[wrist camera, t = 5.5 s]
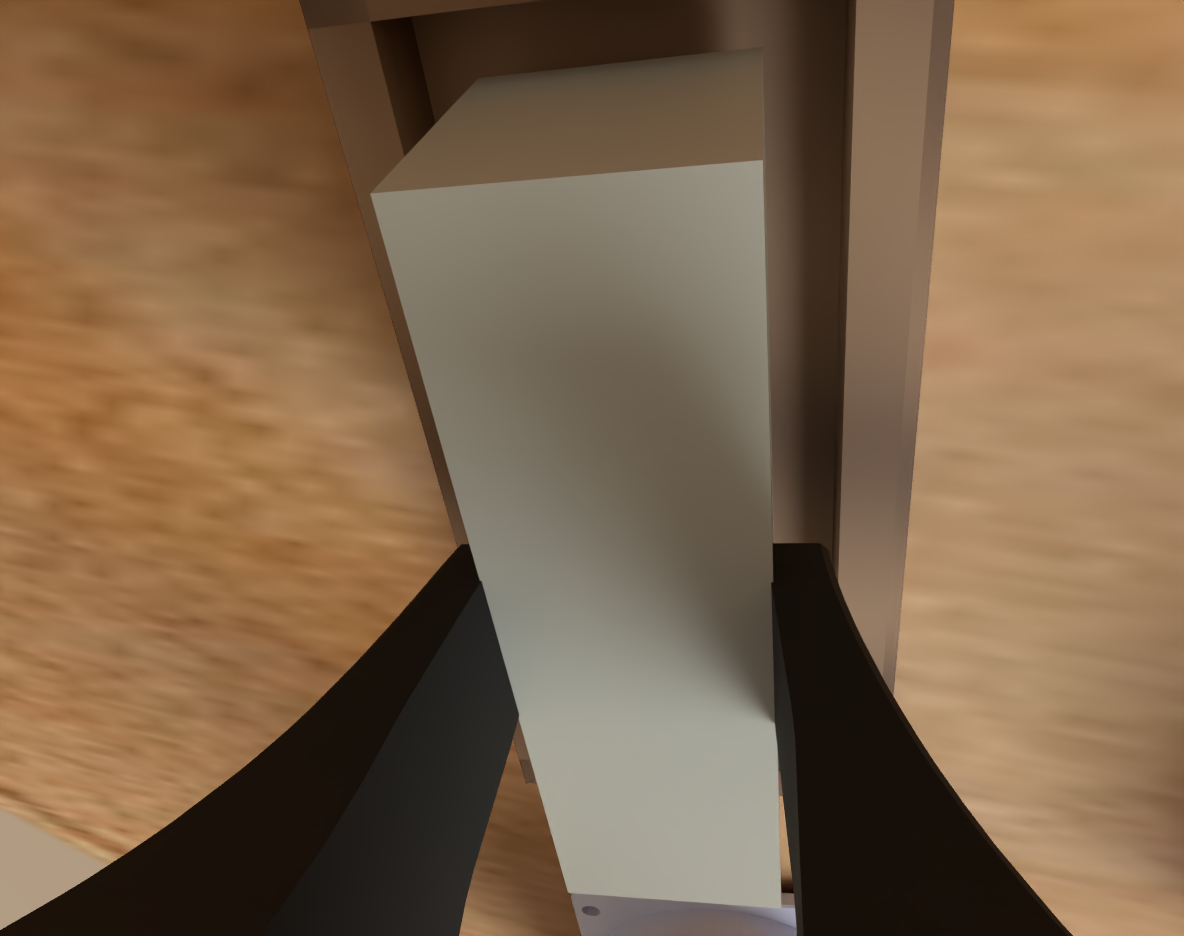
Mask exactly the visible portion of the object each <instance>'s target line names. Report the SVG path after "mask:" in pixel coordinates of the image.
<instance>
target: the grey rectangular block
mask: <svg viewBox="0 0 1184 936" xmlns="http://www.w3.org/2000/svg"><path fill="white" fill-rule="evenodd" d="M370 195H371V198H372V202H373V205H374V209H375V212H376V216H377V219H378V223H379V226H380V230H381V234H382V237H383V241H384V244H385V248H386V251H387V255H388V258H389V262H390V265H391V269H392V272H393V276H394V279H395V283H396V287H397V290H398V294H399V297H400V301H401V304H402V308H403V311H404V315H405V318H406V322H407V325H408V329H409V332H410V336H411V340H412V343H413V347H414V350H415V354H416V357H417V361H418V364H419V368H420V371H421V375H422V378H423V382H424V385H425V389H426V393H427V396H428V400H429V403H430V407H431V410H432V414H433V417H434V421H435V424H436V428H437V431H438V435H439V438H440V442H441V446H442V449H443V453H444V456H445V460H446V463H447V467H448V470H449V474H450V477H451V481H452V484H453V488H454V491H455V495H456V499H457V502H458V506H459V509H460V513H461V516H462V520H463V523H464V527H465V530H466V534H467V537H468V541H469V544H470V548H471V551H472V555H473V559H474V562H475V566H476V569H477V573H478V576H479V580H480V581H482V584H483V588H484V591H485V595H486V598H487V602H488V605H489V609H490V612H491V616H492V620H493V623H494V627H495V630H496V634H497V637H498V641H499V644H500V648H501V652H502V655H503V659H504V662H505V666H506V669H507V673H508V676H509V680H510V684H511V687H512V691H513V694H514V698H515V701H516V705H517V708H518V712H519V721H520V725H521V728H522V732H523V735H524V739H525V742H526V746H527V749H528V753H529V756H530V760H531V763H532V767H533V771H534V774H535V778H536V781H537V785H538V788H539V792H540V795H541V799H542V802H543V806H544V809H545V813H546V816H547V820H548V824H549V827H550V831H551V834H552V838H553V841H554V845H555V848H556V852H557V855H558V859H559V862H560V866H561V869H562V873H563V877H564V880H565V884H566V887H567V891H568V893H577V894H591V895H604V896H618V897H631V898H645V899H658V900H672V901H685V902H699V903H712V904H726V905H739V906H753V907H766V908H780V909H781V859H780V801H779V757H778V749H777V740H776V731H775V708H774V670H773V633H772V595H771V582H773V543H774V519H773V477H772V434H771V391H770V348H769V305H768V262H767V219H766V176H765V134H764V91H763V48H762V47H758V48H748V49H739V50H730V51H721V52H712V53H703V54H694V55H685V56H675V57H666V58H657V59H648V60H639V61H630V62H621V63H612V64H602V65H593V66H584V67H575V68H566V69H557V70H548V71H539V72H529V73H520V74H511V75H502V76H493V77H484V78H478V79H477V80H476V81H475V82H474V83H473V84H472V85H471V86H470V87H469V89H468V90H467V91H466V92H465V93H464V94H463V95H462V96H461V97H460V98H459V99H458V100H457V101H456V102H455V104H454V105H453V106H452V107H451V108H450V109H449V110H448V111H447V112H446V113H445V114H444V115H443V116H442V117H441V118H440V120H439V121H438V122H437V123H436V124H435V125H434V126H433V127H432V128H431V129H430V130H429V131H428V132H427V133H426V134H425V136H424V137H423V138H422V139H421V140H420V141H419V142H418V143H417V144H416V145H415V146H414V147H413V148H412V149H411V151H410V152H409V153H408V154H407V155H406V156H405V157H404V158H403V159H402V160H401V161H400V162H399V163H398V164H397V165H396V167H395V168H394V169H393V170H392V171H391V172H390V173H389V174H388V175H387V176H386V177H385V178H384V179H383V180H382V181H381V183H380V184H379V185H378V186H377V187H376V188H375V189H374V190H373V191H372V192H371V193H370Z"/></svg>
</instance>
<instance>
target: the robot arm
mask: <svg viewBox="0 0 1184 936" xmlns="http://www.w3.org/2000/svg"><path fill="white" fill-rule="evenodd" d="M771 595H772V633H773V670H774V708H775V731H776V740H777V749H778V757H779V766H780V775H781V784H782V793H783V801H784V810H785V819H786V828H787V836H788V845H789V854H790V863H791V871H792V880H793V889H794V894H793V893H781V909H780V908H766V907H753V906H739V905H726V904H712V903H699V902H685V901H672V900H658V899H645V898H631V897H618V896H604V895H591V894H577V893H572V895H571V900H572V904H573V907H574V911H575V914H576V918H577V922H578V925H579V929H580V933H581V936H1073V935H1072V934H1071V933H1070V932H1069V931H1068V930H1067V929H1066V928H1065V927H1064V926H1063V925H1062V923H1061V922H1060V921H1059V920H1058V919H1057V918H1056V916H1055V915H1054V914H1053V913H1052V912H1051V910H1050V909H1049V908H1048V907H1047V906H1046V905H1045V903H1044V902H1043V901H1042V900H1041V899H1040V897H1039V896H1038V895H1037V894H1036V893H1035V892H1034V890H1033V889H1032V888H1031V887H1030V886H1029V884H1028V883H1027V882H1026V881H1025V880H1024V879H1023V877H1022V876H1021V875H1020V874H1019V873H1018V871H1017V870H1016V869H1015V868H1014V867H1013V866H1012V864H1011V863H1010V862H1009V861H1008V860H1007V858H1006V857H1005V856H1004V855H1003V854H1002V853H1001V851H1000V850H999V849H998V848H997V846H996V845H995V844H994V843H993V841H992V840H991V839H990V837H989V836H988V835H987V834H986V832H985V831H984V830H983V828H982V827H981V826H980V824H979V823H978V822H977V820H976V819H975V818H974V816H973V815H972V814H971V812H970V811H969V810H968V809H967V807H966V806H965V805H964V803H963V802H962V800H961V799H960V798H959V796H958V795H957V793H956V792H955V791H954V789H953V788H952V786H951V785H950V784H949V782H948V781H947V779H946V778H945V777H944V775H943V774H942V772H941V771H940V769H939V768H938V767H937V765H936V764H935V762H934V761H933V759H932V758H931V756H930V755H929V753H928V752H927V750H926V749H925V747H924V745H923V744H922V742H921V741H920V739H919V738H918V736H917V735H916V733H915V731H914V730H913V728H912V726H911V725H910V723H909V722H908V720H907V718H906V717H905V715H904V713H903V712H902V710H901V708H900V707H899V705H898V704H897V702H896V700H895V698H894V697H893V695H892V693H891V691H890V690H889V688H888V686H887V684H886V683H885V681H884V679H883V677H882V675H881V673H880V671H879V669H878V668H877V666H876V664H875V662H874V660H873V658H872V656H871V654H870V652H869V650H868V648H867V647H866V645H865V643H864V641H863V639H862V637H861V635H860V633H859V630H858V628H857V626H856V624H855V622H854V620H853V617H852V615H851V613H850V611H849V608H848V606H847V604H846V601H845V599H844V596H843V594H842V591H841V589H840V586H839V583H838V581H837V578H836V575H835V572H834V568H833V565H832V562H831V558H830V553H829V550H828V549H827V548H826V547H824V546H823V545H822V544H821V543H773V582H771ZM518 718H519V712H518V708H517V705H516V701H515V698H514V694H513V691H512V687H511V684H510V680H509V676H508V673H507V669H506V666H505V662H504V659H503V655H502V652H501V648H500V644H499V641H498V637H497V634H496V630H495V627H494V623H493V620H492V616H491V612H490V609H489V605H488V602H487V598H486V595H485V591H484V588H483V584H482V581H480V580H479V576H478V573H477V569H476V566H475V562H474V559H473V555H472V551H471V548H470V544H461V545H460V546H459V547H458V548H457V549H456V550H455V552H454V553H453V554H452V555H451V556H450V557H449V558H448V559H447V561H446V562H445V563H444V564H443V565H442V566H441V567H440V569H439V570H438V571H437V572H436V573H435V574H434V576H433V577H432V578H431V579H430V580H429V581H428V583H427V584H426V585H425V586H424V587H423V588H422V590H421V591H420V592H419V593H418V594H417V595H416V597H415V598H414V599H413V600H412V601H411V602H410V603H409V605H408V606H407V607H406V608H405V609H404V610H403V611H402V613H401V614H400V615H399V616H398V617H397V618H396V619H395V621H394V622H393V623H392V624H391V625H390V626H389V627H388V628H387V629H386V630H385V632H384V633H383V634H382V635H381V636H380V637H379V638H378V639H377V640H376V641H375V643H374V644H373V645H372V646H371V647H370V648H369V649H368V650H367V651H366V653H365V654H364V655H363V656H362V657H361V658H360V659H359V660H358V661H357V662H356V663H355V664H354V665H353V666H352V667H351V668H350V669H349V670H348V671H347V672H346V673H345V674H344V675H343V676H342V677H341V678H340V679H339V680H338V681H337V682H336V683H335V684H334V685H333V686H332V687H331V688H330V689H329V691H328V692H327V693H326V694H325V695H324V696H323V697H322V698H321V699H320V700H319V701H318V702H317V703H316V704H315V705H314V706H313V707H312V708H310V709H309V710H308V711H307V712H306V713H305V714H304V715H303V716H302V717H301V718H300V719H299V720H298V721H297V722H296V723H295V724H293V725H292V726H291V727H290V728H289V729H288V730H287V731H286V732H285V733H284V734H282V735H281V736H280V737H279V738H278V739H277V740H276V741H274V742H273V743H272V744H271V745H270V746H269V747H267V748H266V749H265V750H264V751H263V752H262V753H260V754H259V755H258V756H257V757H256V758H255V759H253V760H252V761H251V762H250V763H249V764H247V765H246V766H245V767H244V768H242V769H241V770H240V771H239V772H238V773H236V774H235V775H234V776H232V777H231V778H230V779H228V780H227V781H226V782H224V783H223V784H222V785H221V786H219V787H218V788H217V789H215V790H214V791H213V792H211V793H210V794H209V795H207V796H206V797H205V798H203V799H202V800H201V801H199V802H198V803H197V804H195V805H194V806H193V807H191V808H190V809H189V810H188V811H186V812H185V813H184V814H182V815H181V816H180V817H178V818H177V819H176V820H174V821H173V822H172V823H170V824H169V825H167V826H166V827H165V828H163V829H162V830H160V831H159V832H157V833H156V834H154V835H153V836H152V837H150V838H149V839H147V840H146V841H144V842H143V843H141V844H140V845H138V846H137V847H135V848H134V849H133V850H131V851H130V852H128V853H127V854H125V855H123V856H122V857H120V858H119V859H117V860H116V861H114V862H113V863H111V864H110V865H108V866H107V867H105V868H103V869H102V870H100V871H99V872H98V873H96V874H94V875H93V876H91V877H90V878H88V879H87V880H85V881H83V882H82V883H80V884H78V885H77V886H75V887H73V888H72V889H70V890H68V891H67V892H65V893H64V894H62V895H60V896H58V897H57V898H55V899H53V900H51V901H50V902H48V903H46V904H45V905H43V906H41V907H39V908H38V909H36V910H34V911H33V912H31V913H29V914H27V915H26V916H24V917H22V918H21V919H19V920H17V921H15V922H14V923H12V924H10V925H8V926H7V927H5V928H3V929H2V930H0V936H459V932H460V927H461V922H462V917H463V912H464V907H465V902H466V898H467V894H468V890H469V886H470V882H471V878H472V874H473V870H474V867H475V863H476V860H477V857H478V853H479V850H480V847H481V843H482V840H483V837H484V833H485V830H486V827H487V823H488V820H489V817H490V813H491V810H492V807H493V803H494V800H495V797H496V793H497V790H498V787H499V783H500V780H501V777H502V774H503V770H504V767H505V763H506V760H507V757H508V753H509V750H510V746H511V743H512V739H513V736H514V733H515V729H516V726H517V722H518Z"/></svg>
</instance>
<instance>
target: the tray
mask: <svg viewBox="0 0 1184 936" xmlns="http://www.w3.org/2000/svg"><path fill="white" fill-rule="evenodd" d="M299 1H300V5H301V8H302V12H303V15H304V18H305V22H306V25H307V29H308V32H309V36H310V39H311V43H312V46H313V50H314V53H315V56H316V60H317V63H318V67H319V70H320V74H321V77H322V81H323V84H324V88H325V91H326V94H327V98H328V101H329V105H330V108H331V112H332V115H333V119H334V122H335V125H336V129H337V132H338V136H339V139H340V143H341V146H342V150H343V153H344V157H345V160H346V163H347V167H348V170H349V174H350V177H351V181H352V184H353V188H354V191H355V195H356V198H357V201H358V205H359V208H360V212H361V215H362V219H363V222H364V226H365V229H366V233H367V236H368V239H369V243H370V246H371V250H372V253H373V257H374V260H375V264H376V267H377V271H378V274H379V277H380V281H381V284H382V288H383V291H384V295H385V298H386V302H387V305H388V308H389V312H390V315H391V319H392V322H393V326H394V329H395V333H396V336H397V340H398V343H399V346H400V350H401V353H402V357H403V360H404V364H405V367H406V371H407V374H408V378H409V381H410V384H411V388H412V391H413V395H414V398H415V402H416V405H417V409H418V412H419V416H420V419H421V422H422V426H423V429H424V433H425V436H426V440H427V443H428V447H429V450H430V453H431V457H432V460H433V464H434V467H435V471H436V474H437V478H438V481H439V485H440V488H441V491H442V495H443V498H444V502H445V505H446V509H447V512H448V516H449V519H450V523H451V526H452V529H453V533H454V536H455V540H456V543H457V547H459V546H460V545H461V544H469V541H468V537H467V534H466V530H465V527H464V523H463V520H462V516H461V513H460V509H459V506H458V502H457V499H456V495H455V491H454V488H453V484H452V481H451V477H450V474H449V470H448V467H447V463H446V460H445V456H444V453H443V449H442V446H441V442H440V438H439V435H438V431H437V428H436V424H435V421H434V417H433V414H432V410H431V407H430V403H429V400H428V396H427V393H426V389H425V385H424V382H423V378H422V375H421V371H420V368H419V364H418V361H417V357H416V354H415V350H414V347H413V343H412V340H411V336H410V332H409V329H408V325H407V322H406V318H405V315H404V311H403V308H402V304H401V301H400V297H399V294H398V290H397V287H396V283H395V279H394V276H393V272H392V269H391V265H390V262H389V258H388V255H387V251H386V248H385V244H384V241H383V237H382V234H381V230H380V226H379V223H378V219H377V216H376V212H375V209H374V205H373V202H372V198H371V195H370V193H371V192H372V191H373V190H374V189H375V188H376V187H377V186H378V185H379V184H380V183H381V181H382V180H383V179H384V178H385V177H386V176H387V175H388V174H389V173H390V172H391V171H392V170H393V169H394V168H395V167H396V165H397V164H398V163H399V162H400V161H401V160H402V159H403V158H404V157H405V156H406V155H407V154H408V153H409V152H410V151H411V149H412V148H413V147H414V146H415V145H416V144H417V143H418V142H419V141H420V140H421V139H422V138H423V137H424V136H425V134H426V133H427V132H428V131H429V130H430V129H431V128H432V127H433V126H434V125H435V124H436V123H437V122H438V121H439V120H440V118H441V117H442V116H443V115H444V114H445V113H446V112H447V111H448V110H449V109H450V108H451V107H452V106H453V105H454V104H455V102H456V101H457V100H458V99H459V98H460V97H461V96H462V95H463V94H464V93H465V92H466V91H467V90H468V89H469V87H470V86H471V85H472V84H473V83H474V82H475V81H476V80H477V79H478V78H484V77H493V76H502V75H511V74H520V73H529V72H539V71H548V70H557V69H566V68H575V67H584V66H593V65H602V64H612V63H621V62H630V61H639V60H648V59H657V58H666V57H675V56H685V55H694V54H703V53H712V52H721V51H730V50H739V49H748V48H758V47H762V48H763V91H764V134H765V176H766V219H767V262H768V305H769V348H770V391H771V434H772V477H773V519H774V543H821V544H822V545H823V546H824V547H826V548H827V549H828V550H829V553H830V558H831V562H832V565H833V568H834V572H835V575H836V578H837V581H838V583H839V586H840V589H841V591H842V594H843V596H844V599H845V601H846V604H847V606H848V608H849V611H850V613H851V615H852V617H853V620H854V622H855V624H856V626H857V628H858V630H859V633H860V635H861V637H862V639H863V641H864V643H865V645H866V647H867V648H868V650H869V652H870V654H871V656H872V658H873V660H874V662H875V664H876V666H877V668H878V669H879V671H880V673H881V675H882V677H883V679H884V681H885V683H886V684H887V686H888V688H889V690H890V691H891V693H892V695H893V693H894V682H895V671H896V659H897V648H898V637H899V625H900V614H901V602H902V591H903V580H904V568H905V557H906V546H907V534H908V523H909V511H910V500H911V489H912V477H913V466H914V455H915V443H916V432H917V420H918V409H919V398H920V386H921V375H922V364H923V352H924V341H925V329H926V318H927V307H928V295H929V284H930V273H931V261H932V250H933V238H934V227H935V216H936V204H937V193H938V182H939V170H940V159H941V147H942V136H943V125H944V113H945V102H946V91H947V79H948V68H949V56H950V45H951V34H952V22H953V11H954V0H299ZM513 740H514V744H515V747H516V750H517V754H518V757H519V761H520V764H521V768H522V771H523V775H524V778H525V781H526V783H537V781H536V778H535V774H534V771H533V767H532V763H531V760H530V756H529V753H528V749H527V746H526V742H525V739H524V735H523V732H522V728H521V725H520V721H519V718H518V722H517V726H516V729H515V733H514V736H513ZM779 796H783V793H782V784H781V775H780V766H779Z"/></svg>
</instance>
